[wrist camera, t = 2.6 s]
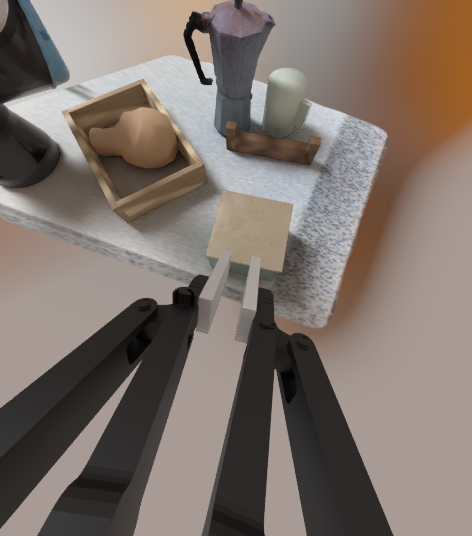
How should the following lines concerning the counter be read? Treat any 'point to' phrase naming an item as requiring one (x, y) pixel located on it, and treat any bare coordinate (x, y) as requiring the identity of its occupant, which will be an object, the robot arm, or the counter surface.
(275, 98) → the sage mug
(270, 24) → the moka pot
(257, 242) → the green tea tin
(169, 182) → the pine crate
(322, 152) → the counter surface
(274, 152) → the walnut stop rail
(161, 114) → the squash
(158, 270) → the counter surface
